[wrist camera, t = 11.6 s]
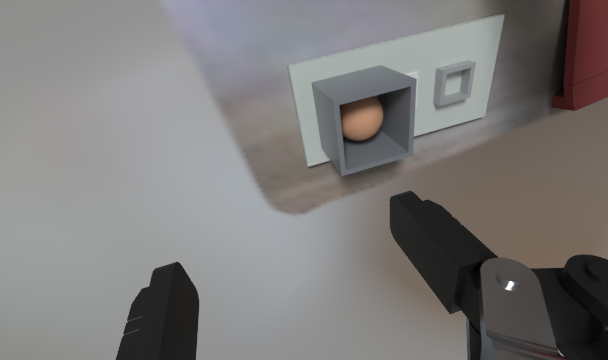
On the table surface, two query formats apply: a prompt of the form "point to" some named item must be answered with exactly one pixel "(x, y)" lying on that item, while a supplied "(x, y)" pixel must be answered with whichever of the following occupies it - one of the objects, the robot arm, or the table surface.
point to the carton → (585, 55)
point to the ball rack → (395, 91)
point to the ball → (361, 118)
